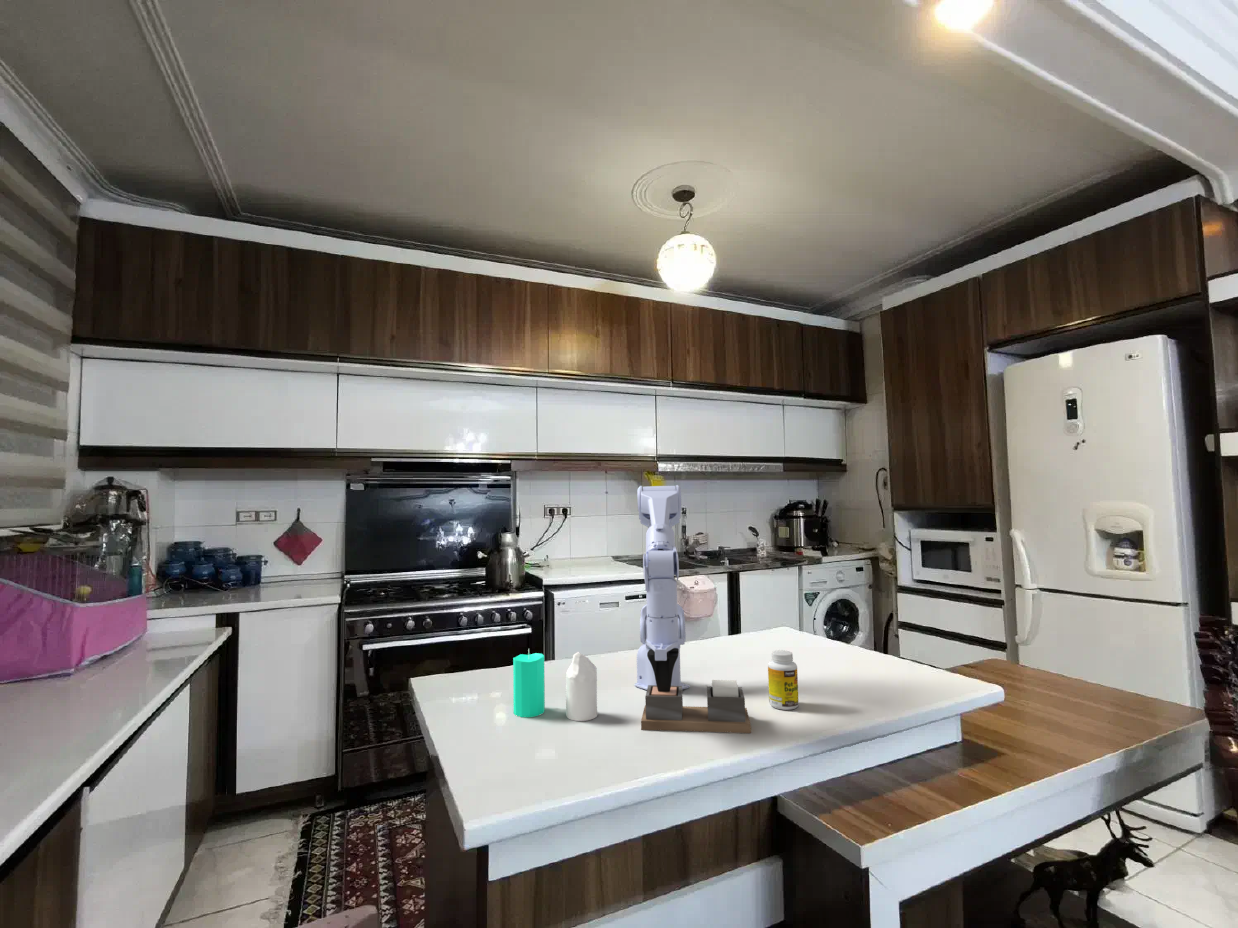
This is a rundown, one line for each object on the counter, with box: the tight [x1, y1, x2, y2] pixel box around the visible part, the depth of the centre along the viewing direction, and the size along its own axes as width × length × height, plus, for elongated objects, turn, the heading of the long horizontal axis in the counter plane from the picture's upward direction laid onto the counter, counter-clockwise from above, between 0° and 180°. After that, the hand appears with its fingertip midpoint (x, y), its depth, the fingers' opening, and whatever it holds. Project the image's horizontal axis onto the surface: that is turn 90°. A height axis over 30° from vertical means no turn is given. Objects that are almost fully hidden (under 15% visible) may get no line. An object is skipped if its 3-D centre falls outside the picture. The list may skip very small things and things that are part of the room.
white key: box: [711, 679, 739, 697], centre depth 103 cm, size 4×4×2 cm
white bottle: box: [565, 651, 598, 722], centre depth 108 cm, size 6×12×6 cm
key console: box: [640, 685, 752, 734], centre depth 103 cm, size 8×19×6 cm, turn 82°
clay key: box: [651, 687, 677, 696], centre depth 104 cm, size 4×4×2 cm
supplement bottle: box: [767, 649, 799, 711], centre depth 111 cm, size 6×6×10 cm
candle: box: [512, 648, 546, 718], centre depth 111 cm, size 6×6×12 cm
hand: (664, 690), depth 104 cm, fingers closed, pressing on clay key
